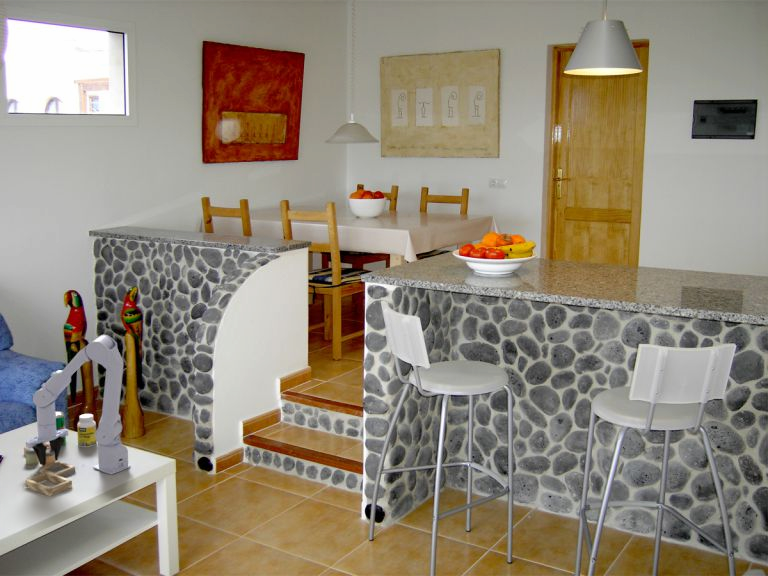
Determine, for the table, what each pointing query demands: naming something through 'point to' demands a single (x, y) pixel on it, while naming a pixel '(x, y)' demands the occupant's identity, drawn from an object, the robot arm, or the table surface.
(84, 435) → the pill bottle
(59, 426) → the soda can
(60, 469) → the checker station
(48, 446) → the copper square frame
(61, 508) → the table surface
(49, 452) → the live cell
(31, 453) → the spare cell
